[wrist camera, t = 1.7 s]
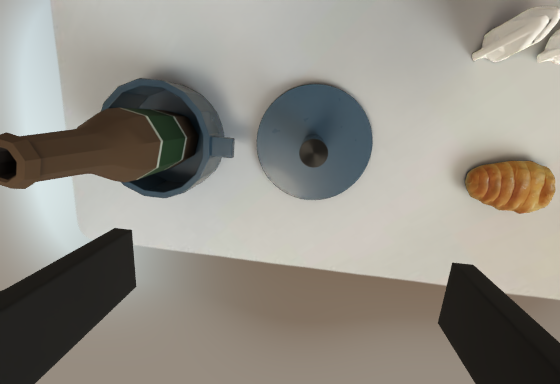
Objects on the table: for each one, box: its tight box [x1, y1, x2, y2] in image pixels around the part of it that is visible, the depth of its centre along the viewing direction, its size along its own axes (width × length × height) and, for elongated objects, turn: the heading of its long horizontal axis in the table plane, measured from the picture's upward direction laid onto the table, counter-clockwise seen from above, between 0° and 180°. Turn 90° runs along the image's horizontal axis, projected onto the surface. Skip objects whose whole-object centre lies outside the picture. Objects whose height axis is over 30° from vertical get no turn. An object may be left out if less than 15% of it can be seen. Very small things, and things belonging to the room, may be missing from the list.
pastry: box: [465, 161, 555, 214], centre depth 36 cm, size 9×7×4 cm
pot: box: [101, 78, 234, 198], centre depth 38 cm, size 15×20×6 cm
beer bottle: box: [0, 108, 199, 189], centre depth 30 cm, size 8×8×24 cm
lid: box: [257, 84, 372, 200], centre depth 34 cm, size 16×16×11 cm
